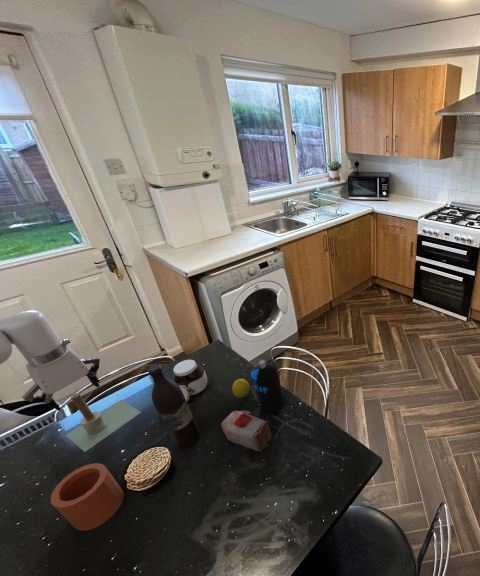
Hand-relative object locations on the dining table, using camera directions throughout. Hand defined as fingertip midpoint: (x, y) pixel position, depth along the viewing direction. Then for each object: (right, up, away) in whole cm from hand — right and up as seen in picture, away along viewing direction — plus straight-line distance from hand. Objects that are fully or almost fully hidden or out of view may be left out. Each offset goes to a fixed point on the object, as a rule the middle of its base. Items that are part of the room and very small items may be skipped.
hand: (77, 396), depth 93 cm
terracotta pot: (+18, -24, -13) cm, 33 cm away
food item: (+50, -15, +5) cm, 52 cm away
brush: (0, -13, +7) cm, 14 cm away
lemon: (+41, -7, +19) cm, 46 cm away
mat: (+1, -12, +9) cm, 15 cm away
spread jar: (+22, -6, +20) cm, 30 cm away
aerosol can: (+53, -9, +16) cm, 56 cm away
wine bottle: (+30, -15, +4) cm, 34 cm away
